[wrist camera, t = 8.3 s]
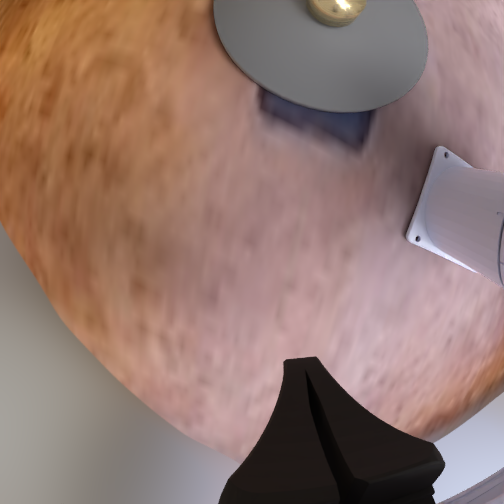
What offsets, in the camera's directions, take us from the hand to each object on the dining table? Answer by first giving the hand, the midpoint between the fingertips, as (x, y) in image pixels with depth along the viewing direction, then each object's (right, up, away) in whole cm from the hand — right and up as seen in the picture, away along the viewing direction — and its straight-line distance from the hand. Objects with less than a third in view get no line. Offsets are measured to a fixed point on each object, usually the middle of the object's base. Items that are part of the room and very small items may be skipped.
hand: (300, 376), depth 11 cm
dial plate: (+3, +22, +4) cm, 23 cm away
